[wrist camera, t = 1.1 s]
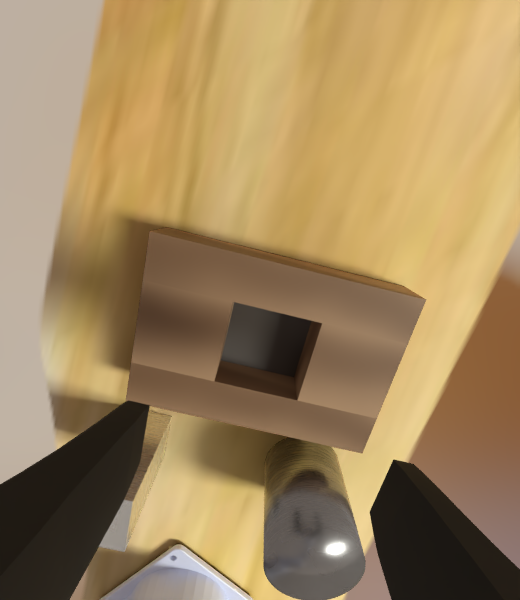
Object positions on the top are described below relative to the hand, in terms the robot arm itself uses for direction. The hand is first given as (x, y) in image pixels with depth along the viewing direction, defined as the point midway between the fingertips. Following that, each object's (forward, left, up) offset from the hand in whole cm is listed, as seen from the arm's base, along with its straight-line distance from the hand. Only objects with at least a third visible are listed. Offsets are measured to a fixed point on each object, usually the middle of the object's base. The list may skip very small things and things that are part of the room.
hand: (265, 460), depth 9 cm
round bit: (-5, -8, -10) cm, 14 cm away
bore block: (0, 0, -9) cm, 9 cm away
